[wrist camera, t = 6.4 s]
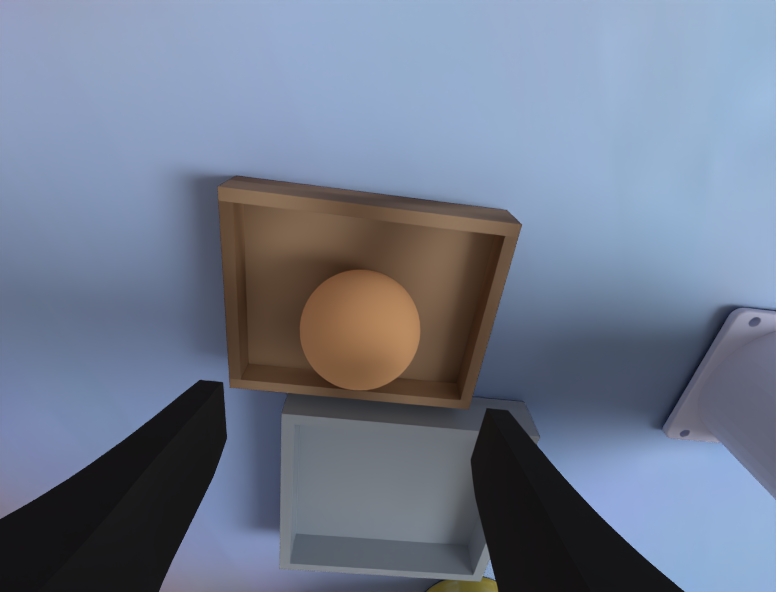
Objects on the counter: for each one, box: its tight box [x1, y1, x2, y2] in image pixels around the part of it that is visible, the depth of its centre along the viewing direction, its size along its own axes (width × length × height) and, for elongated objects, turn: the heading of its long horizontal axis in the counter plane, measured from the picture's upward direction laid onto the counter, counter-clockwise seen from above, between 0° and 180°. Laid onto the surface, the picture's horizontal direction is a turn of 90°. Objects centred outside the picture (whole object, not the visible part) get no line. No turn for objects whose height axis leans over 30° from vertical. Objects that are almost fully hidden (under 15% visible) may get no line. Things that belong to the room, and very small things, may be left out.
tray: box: [218, 176, 522, 410], centre depth 17 cm, size 11×9×2 cm
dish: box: [279, 393, 540, 582], centre depth 23 cm, size 12×12×2 cm
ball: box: [300, 269, 420, 390], centre depth 16 cm, size 5×5×5 cm
